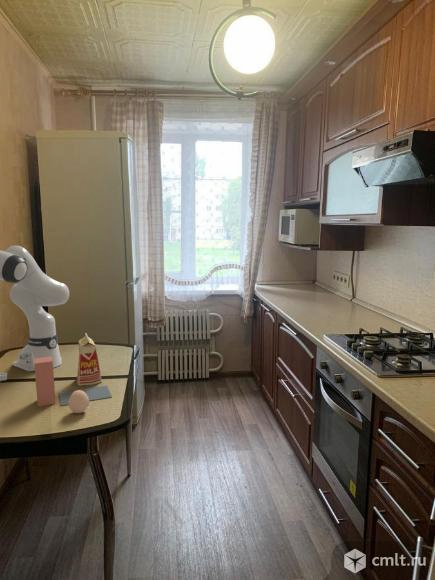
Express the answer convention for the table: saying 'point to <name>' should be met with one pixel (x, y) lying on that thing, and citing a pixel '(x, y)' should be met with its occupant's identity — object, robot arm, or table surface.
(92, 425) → the table surface
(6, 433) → the table surface
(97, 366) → the milk carton
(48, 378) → the block
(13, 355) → the table surface
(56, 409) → the table surface
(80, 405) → the egg
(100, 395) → the mat
